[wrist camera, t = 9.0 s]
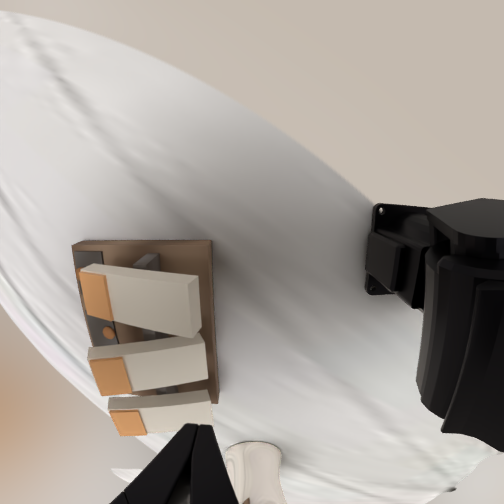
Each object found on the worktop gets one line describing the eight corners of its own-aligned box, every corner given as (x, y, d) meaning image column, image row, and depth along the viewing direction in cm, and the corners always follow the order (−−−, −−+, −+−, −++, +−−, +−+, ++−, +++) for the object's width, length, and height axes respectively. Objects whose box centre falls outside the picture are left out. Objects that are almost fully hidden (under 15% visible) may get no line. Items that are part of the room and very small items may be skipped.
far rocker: (207, 389, 17) (211, 403, 16) (210, 414, 18) (214, 428, 17) (108, 397, 15) (107, 411, 14) (119, 422, 16) (119, 436, 14)
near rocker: (198, 275, 13) (185, 286, 12) (201, 326, 14) (190, 340, 12) (93, 263, 15) (77, 270, 13) (101, 306, 15) (86, 315, 14)
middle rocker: (199, 332, 16) (206, 344, 15) (202, 367, 17) (209, 380, 16) (88, 347, 14) (87, 361, 12) (100, 382, 14) (100, 397, 13)
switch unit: (211, 240, 18) (200, 256, 14) (219, 391, 21) (215, 426, 17) (82, 240, 18) (51, 254, 14) (113, 379, 21) (96, 407, 17)
